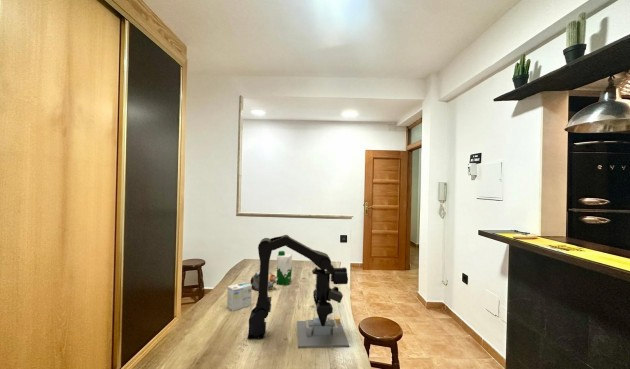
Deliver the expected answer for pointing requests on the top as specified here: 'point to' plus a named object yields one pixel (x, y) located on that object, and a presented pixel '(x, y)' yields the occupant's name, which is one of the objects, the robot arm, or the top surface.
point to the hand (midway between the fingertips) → (321, 320)
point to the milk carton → (284, 268)
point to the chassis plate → (321, 336)
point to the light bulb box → (239, 296)
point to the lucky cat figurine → (255, 280)
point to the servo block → (321, 329)
